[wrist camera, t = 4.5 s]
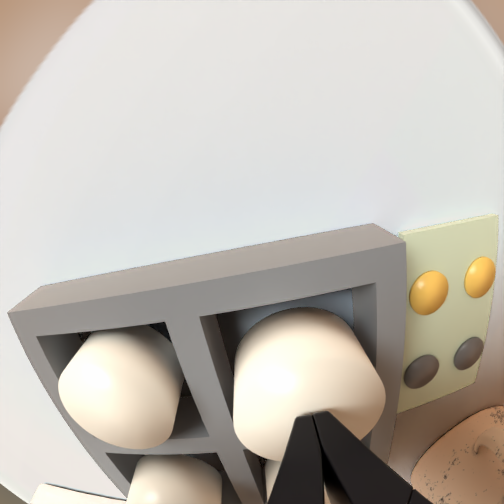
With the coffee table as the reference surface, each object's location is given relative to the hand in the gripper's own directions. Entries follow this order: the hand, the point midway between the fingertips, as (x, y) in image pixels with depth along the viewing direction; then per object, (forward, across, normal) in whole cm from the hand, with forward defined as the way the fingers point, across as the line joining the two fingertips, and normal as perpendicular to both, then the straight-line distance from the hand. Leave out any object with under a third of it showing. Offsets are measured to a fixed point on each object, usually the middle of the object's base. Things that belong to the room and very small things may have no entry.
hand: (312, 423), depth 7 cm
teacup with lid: (+5, -11, +12) cm, 17 cm away
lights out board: (+5, 0, +3) cm, 6 cm away
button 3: (+3, +6, +6) cm, 9 cm away
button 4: (+4, +6, 0) cm, 7 cm away
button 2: (+3, 0, 0) cm, 3 cm away
